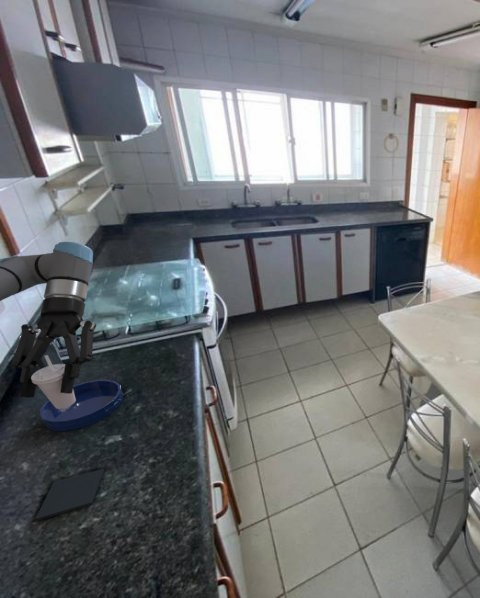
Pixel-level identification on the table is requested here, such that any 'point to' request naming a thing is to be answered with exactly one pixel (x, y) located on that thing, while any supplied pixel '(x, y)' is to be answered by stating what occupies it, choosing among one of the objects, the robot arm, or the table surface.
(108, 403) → the bowl
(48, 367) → the smoothie
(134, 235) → the table surface
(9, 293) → the robot arm
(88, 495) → the mat
